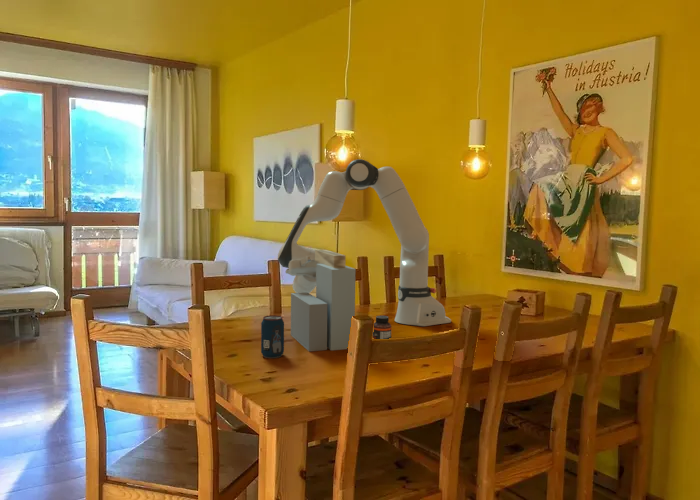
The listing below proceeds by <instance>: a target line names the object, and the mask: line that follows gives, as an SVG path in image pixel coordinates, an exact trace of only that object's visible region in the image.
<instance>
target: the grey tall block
mask: <svg viewBox="0 0 700 500" xmlns="http://www.w3.org/2000/svg"><path fill="white" fill-rule="evenodd" d="M356 271H357V269H356V268H354V267H351V266H348V265H345V268H332V267H330V266H327V265H324V264H316V287H315V297H316V298H318V299H320V300H322V301H324V302H325V303H327V304H328V307H327V350H328V349H329V350H330V351H340V350H341V351H342V350H348V349H347V347H348V341H349V334H350V327H351V318H352V316H355V317H356V315H355V314H356Z"/></svg>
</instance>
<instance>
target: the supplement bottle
mask: <svg viewBox="0 0 700 500" xmlns="http://www.w3.org/2000/svg"><path fill="white" fill-rule="evenodd" d="M373 324H374V332H373V331H372V338H374V339H389V338H391V339H392V324H391V323H390V322H389V316H387V315H376V316H375V322H374V323H373Z"/></svg>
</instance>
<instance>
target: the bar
mask: <svg viewBox="0 0 700 500" xmlns="http://www.w3.org/2000/svg"><path fill="white" fill-rule="evenodd" d="M314 250H315V261H316V262H319V263H321V264H324V265H327V266H330V267H332V268H345V266H346V255H345V254H341V253H338V252H335V251H331V250H329V249H314Z"/></svg>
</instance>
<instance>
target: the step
mask: <svg viewBox="0 0 700 500" xmlns="http://www.w3.org/2000/svg"><path fill="white" fill-rule="evenodd" d="M327 307H328V304H327V303H325V302H324V301H322V300H320V299H318V298H316V295H315V296H314V295H313V294H311V293H296V292H291V293H290V336H291V337H292V338H293V339H295V340H296V341H297V343H299V344H300V345H301V346H303V348H304V349H306V350H307V351H308V352H317V351H318V352H319V351H327V350H328V348H327Z"/></svg>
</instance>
